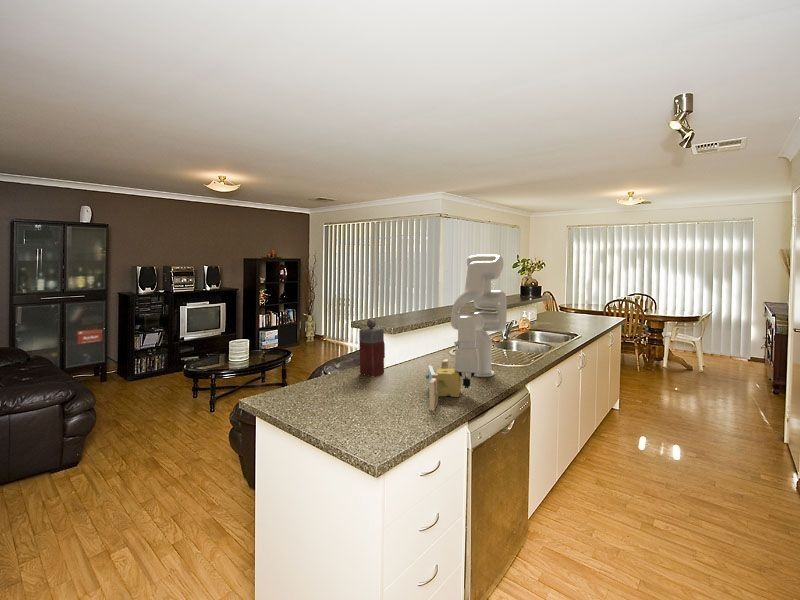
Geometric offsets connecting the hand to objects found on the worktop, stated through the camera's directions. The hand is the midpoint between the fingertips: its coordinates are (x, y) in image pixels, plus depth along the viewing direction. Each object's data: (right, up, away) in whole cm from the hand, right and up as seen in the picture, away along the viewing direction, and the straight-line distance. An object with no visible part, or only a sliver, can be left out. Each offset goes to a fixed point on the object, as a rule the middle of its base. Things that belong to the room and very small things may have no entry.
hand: (466, 387), depth 182 cm
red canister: (-42, -1, +38) cm, 57 cm away
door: (-15, -3, +1) cm, 15 cm away
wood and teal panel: (-11, -3, +1) cm, 12 cm away
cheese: (-8, -3, +2) cm, 9 cm away
